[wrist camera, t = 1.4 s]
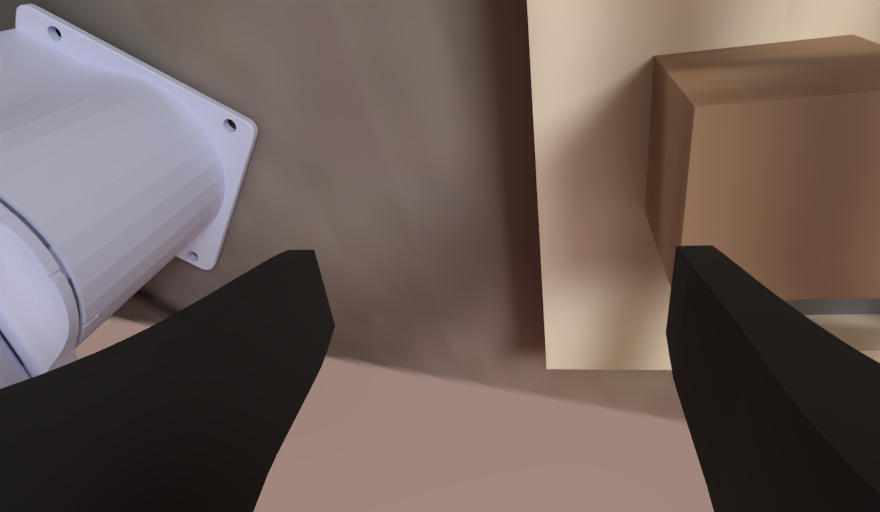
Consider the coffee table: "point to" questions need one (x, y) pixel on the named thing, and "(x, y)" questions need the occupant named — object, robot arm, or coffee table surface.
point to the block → (771, 162)
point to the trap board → (639, 164)
